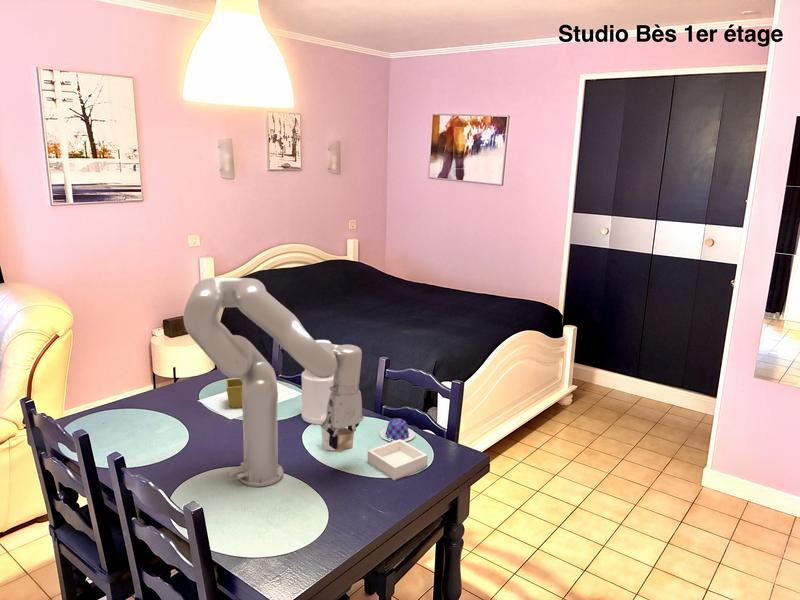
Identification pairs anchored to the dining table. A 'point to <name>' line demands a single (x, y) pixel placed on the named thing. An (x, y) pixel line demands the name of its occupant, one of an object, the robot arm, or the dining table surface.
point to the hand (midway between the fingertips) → (340, 444)
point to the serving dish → (397, 459)
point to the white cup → (325, 436)
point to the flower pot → (234, 392)
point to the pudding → (397, 430)
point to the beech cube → (344, 439)
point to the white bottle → (315, 395)
